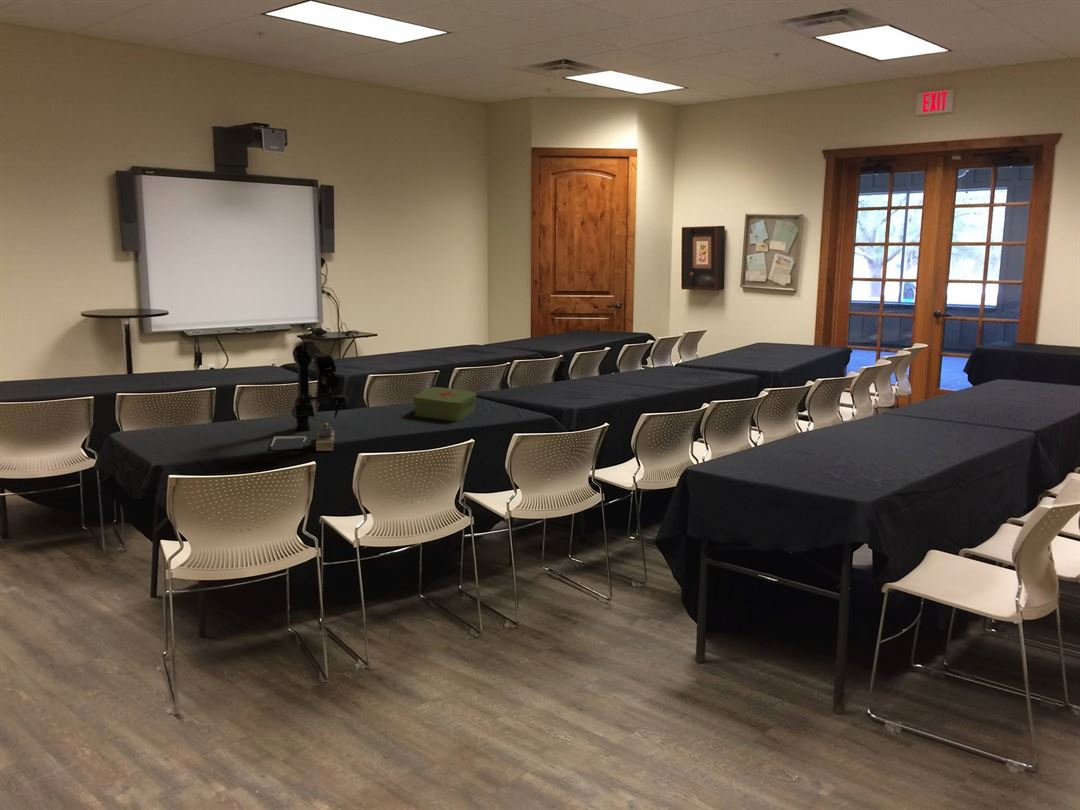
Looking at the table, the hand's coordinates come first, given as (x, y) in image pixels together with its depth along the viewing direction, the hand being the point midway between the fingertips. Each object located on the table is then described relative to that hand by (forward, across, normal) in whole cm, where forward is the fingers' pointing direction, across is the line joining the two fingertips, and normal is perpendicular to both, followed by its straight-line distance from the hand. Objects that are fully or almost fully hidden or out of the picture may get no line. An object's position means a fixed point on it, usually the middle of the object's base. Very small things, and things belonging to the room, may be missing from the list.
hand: (324, 417), depth 391 cm
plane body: (+12, 0, 0) cm, 13 cm away
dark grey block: (+8, 0, 0) cm, 9 cm away
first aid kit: (+13, +57, +53) cm, 79 cm away
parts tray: (+12, -16, 0) cm, 20 cm away
